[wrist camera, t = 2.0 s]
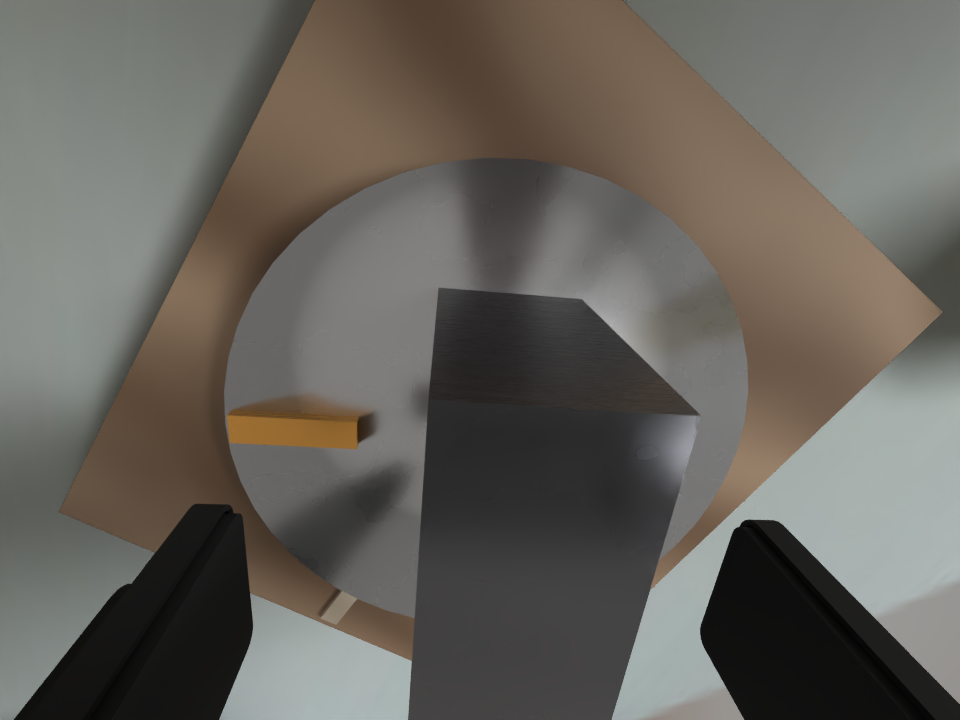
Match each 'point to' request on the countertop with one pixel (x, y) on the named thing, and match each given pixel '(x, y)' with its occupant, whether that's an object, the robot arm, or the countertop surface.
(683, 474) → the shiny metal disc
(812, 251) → the dial base
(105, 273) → the countertop surface
